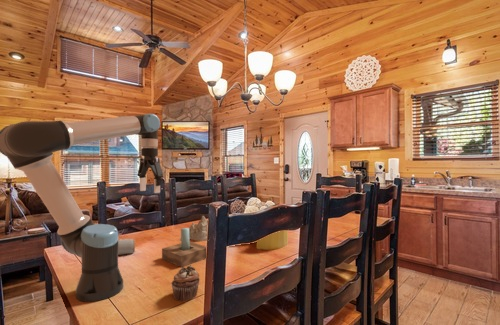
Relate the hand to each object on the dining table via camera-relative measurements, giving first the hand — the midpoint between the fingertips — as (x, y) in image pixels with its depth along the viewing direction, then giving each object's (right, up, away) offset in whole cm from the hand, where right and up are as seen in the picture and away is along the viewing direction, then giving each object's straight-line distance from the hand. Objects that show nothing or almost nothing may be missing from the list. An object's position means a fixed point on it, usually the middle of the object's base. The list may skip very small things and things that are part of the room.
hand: (149, 191), depth 129 cm
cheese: (+58, -33, +27) cm, 72 cm away
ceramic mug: (-16, -33, +9) cm, 38 cm away
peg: (+17, -32, +1) cm, 37 cm away
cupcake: (+26, -33, -35) cm, 54 cm away
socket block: (+17, -33, +1) cm, 37 cm away
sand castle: (+19, -33, +37) cm, 53 cm away
